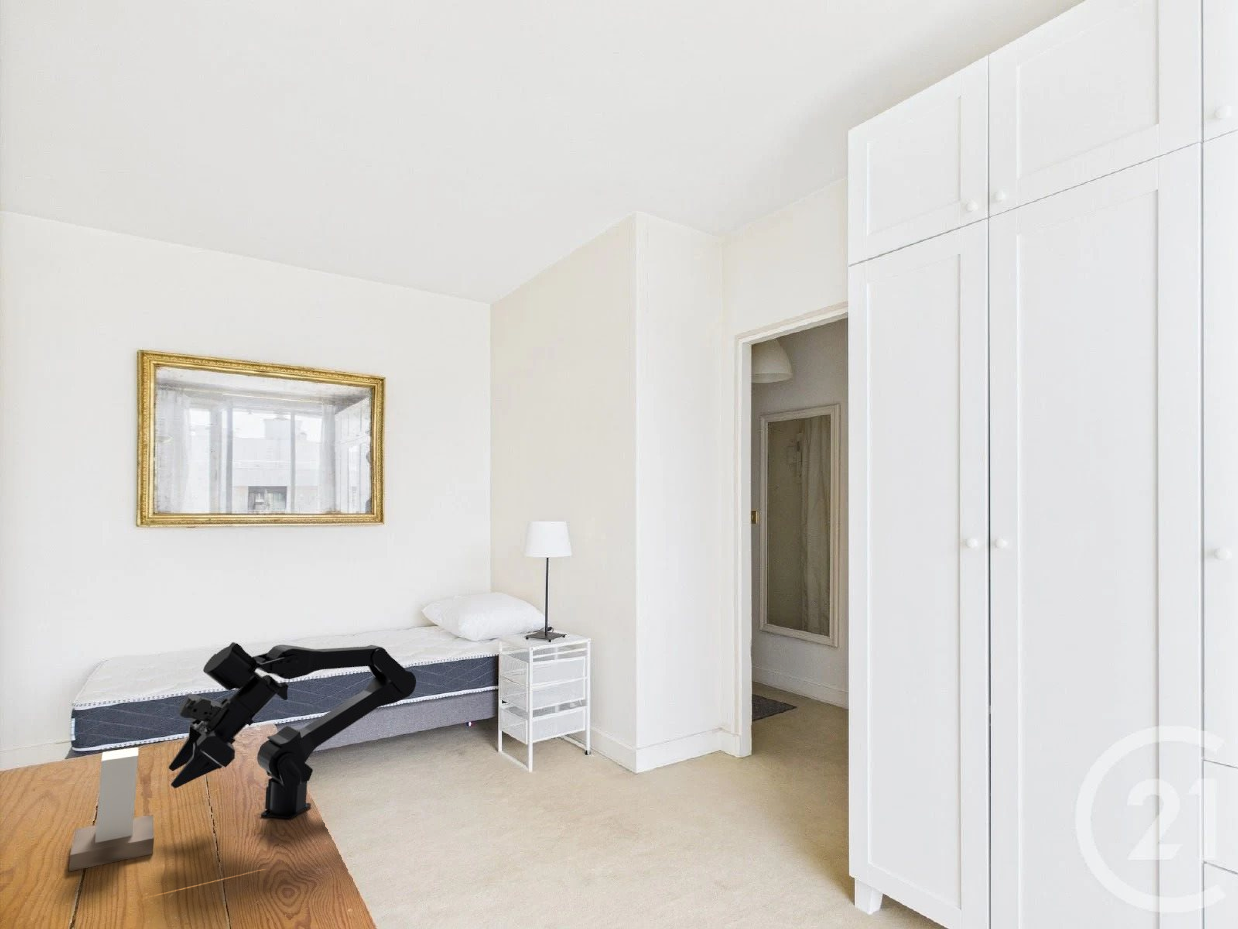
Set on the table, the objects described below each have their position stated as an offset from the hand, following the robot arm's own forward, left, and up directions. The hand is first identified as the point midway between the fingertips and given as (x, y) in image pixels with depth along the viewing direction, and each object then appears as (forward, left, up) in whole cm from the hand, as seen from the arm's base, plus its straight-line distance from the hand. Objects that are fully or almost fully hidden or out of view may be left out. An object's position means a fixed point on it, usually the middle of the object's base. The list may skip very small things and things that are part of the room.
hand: (171, 777), depth 122 cm
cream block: (+5, +6, -8) cm, 11 cm away
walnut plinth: (+5, +6, -10) cm, 13 cm away
